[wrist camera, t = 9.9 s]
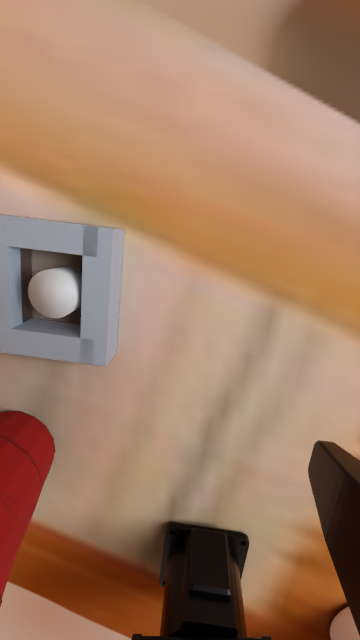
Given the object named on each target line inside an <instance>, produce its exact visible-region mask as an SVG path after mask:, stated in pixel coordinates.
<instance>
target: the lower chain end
mask: <svg viewBox="0 0 360 640" xmlns="http://www.w3.org/2000/svg"><path fill="white" fill-rule="evenodd" d="M0 215H1V214H0ZM8 216H9V215H8ZM16 217H17V216H16ZM25 218H26V217H25ZM20 259H21V294H22V323H24V322H26V321H28V320H30V319H32V318H33V315H32V304H31V302H30V299H29V296H28V286H29V283H30V281H31V279H32V263H31V249H27V248H20Z"/></svg>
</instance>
